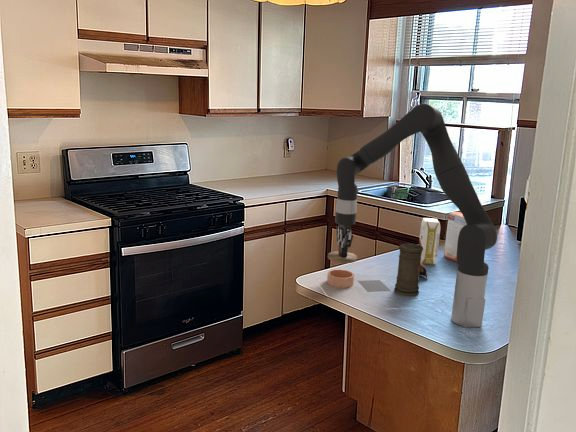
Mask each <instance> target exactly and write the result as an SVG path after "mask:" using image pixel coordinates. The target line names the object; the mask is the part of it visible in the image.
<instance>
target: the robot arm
mask: <svg viewBox="0 0 576 432" xmlns="http://www.w3.org/2000/svg"><path fill="white" fill-rule="evenodd" d="M418 133H421V135H422V136H423V138H424V139H425V141H426V144H427V146H428V147H429V150H430V153H431V160H432V167H433V171H434V175H435V178H436V179H437V182H438V184H439V186H440V189H441V191H442V192H443V194H444V195H445V196H446V197H447V198H448V200H450V202H452V203H453V205H455V207H456V208H457V209H458V211H459V212H461V213H462V215H463V217H464V219H465V221H466V224H467V225H465V226H463V227H462V229H461V230H460V232H459V236H458V243H457V256H456V259H457V262H456V263H457V270H456V277H455V286H454V292H453V293H454V294H453V301H452V309H451V317H450V321H452V323H454V324H456V325H459V326H461V327H463V328H464V329H465V328H479V327H481V328H482V326H483V319H484V312H485V307H486V305H485V304H486V298H485V297H486V296H485V295H486V290H487V289H486V287H487V281H488V274H489V264H488V263H487V262H485V257H486V256H485V253H486V250H490V249H491V248H493V247H494V246H495V245H496V244H497V240H498V233H497V229H496V227H495V225H494V223H493V221H492V220H491V218H490V217H489V215H488V214H487V211H486V210H485V209H484V207H483V205H482V203H481V200H480V199H479V197H478V194H477V192H476V190H475V187H474V186H473V183H472V181H471V179H470V176H469V174H468V171H467V169H466V168H465V167H466V166H465V165H464V164H463V161H462V159H461V157H460V156H459V154H458V151H457V150H456V148H455V146H454V144H453V142H452V140H451V138H450V136H449V133H448V129H447V127H446V123H445V120H444V117H443V115H442V112H441V110H439V109H438V108H437V107H436V106H433V105H431V104H429V103H419V104H417V105H416V106H414V107H413V108H411V109H410V110H409V111H408V112H407V113H406V114H405V115H404V116H402V117H401V118H400V119H399V120H397V122H396V123H395V124H393V125H392V126H391V127H389V128H388V129H386V131H384V132H383V133H381V134H380V135H378V136H377V137H375V138H374V139H372V140H371V141H369V142H367V143H366V144H364V145H363V146H361V148H360V149H359V150H358V151H355V153H353V154H351V155H350V156H345V157H342V158H341V159H339V161H338V163H337V165H336V166H337V167H336V179H337V180H336V181H337V186H338V187H337V196H336V197H337V198H336V205H335V214H334V215H335V217H334V218H335V219H334V222H335V223H336V224H337V225H338V226H337V225H336V227H335V230H336V231H335V232H336V242H337V244H338V254H339V250H340V245H342V246H341V257H347V252H348V250H349V248H351V247H352V242H353V239H354V234H352V229H351V227H352V226H355V224H356V220H357V210H358V209H357V207H358V205H357V203H358V202H357V199H358V185H357V183H356V182H355V180H356V179H355V175H357V174H360V173H361V172H362V171H364V170H365V169H367V168H368V167H369V166H370V165H372V164H374V163H376V162H378V161H379V160H381V159H383V158H384V157H385V156H387V155H388V154H389V153H391V152H392V151H393V150H394V149H395V148H396V147H397V146H398V145H399V144H400V143H402V142H403V141H404V140H405V139H407V138H409V137H411V136H413V135H416V134H418Z"/></svg>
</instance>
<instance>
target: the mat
mask: <svg viewBox="0 0 576 432" xmlns="http://www.w3.org/2000/svg"><path fill="white" fill-rule="evenodd" d="M357 282H358V283H359V284H360V285H361V286H362V287H363V288H364V290H366V291H367V292H369V293H370V292H391V291H392V290H391V289H390V288H389V287H388V286H387V285H385V283H384V282H383V281H381V280H380V279H377V280H375V279H373V280H372V279H371V280H370V279H369V280H357Z"/></svg>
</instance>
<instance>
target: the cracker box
mask: <svg viewBox="0 0 576 432" xmlns="http://www.w3.org/2000/svg"><path fill="white" fill-rule="evenodd" d="M447 217H448V219H447V227H446V234H445V235H446V236H445V243H444V250H443V256H444V257H445V258H447V259H450V260H452V261H454V262H456V263H457V259H456V256H457V243H458V236H459V232H460V230H461V229H462V227H463V226H465V225H467V224H466V221H465V219H464V217H463V215H462V213H461V211H449V212H448V216H447Z"/></svg>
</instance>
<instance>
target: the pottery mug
mask: <svg viewBox="0 0 576 432" xmlns="http://www.w3.org/2000/svg"><path fill="white" fill-rule="evenodd" d="M419 276H421V277H425V279H426V281H427V280H428V272H427V268H426V266H425V264H421V263H420V270H419Z"/></svg>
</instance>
